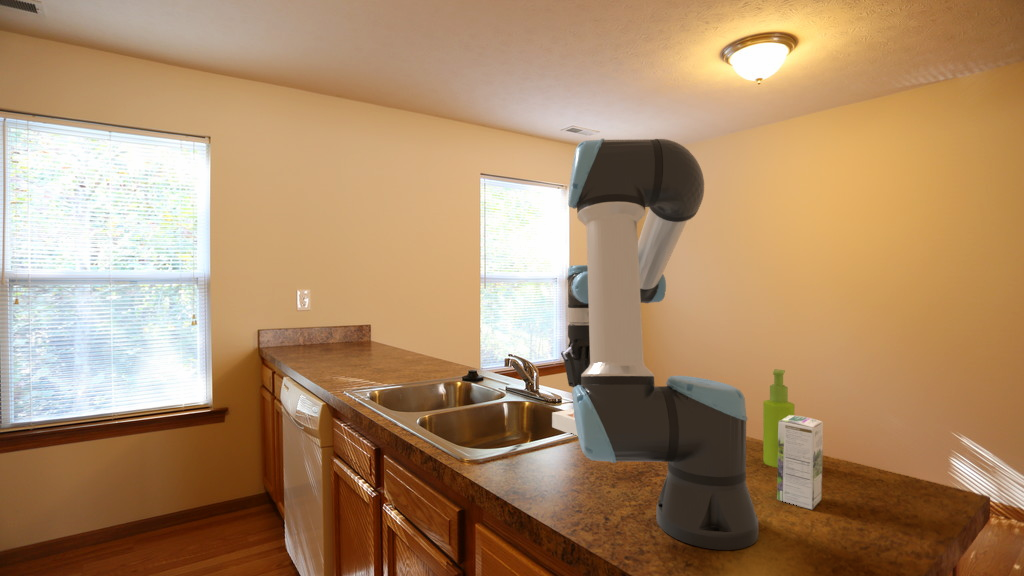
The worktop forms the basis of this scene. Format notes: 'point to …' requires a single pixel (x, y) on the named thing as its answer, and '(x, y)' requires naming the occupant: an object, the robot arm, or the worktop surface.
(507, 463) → the worktop surface
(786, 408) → the soap dispenser
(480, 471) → the worktop surface
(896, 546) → the worktop surface
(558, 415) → the button panel
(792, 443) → the syrup box
